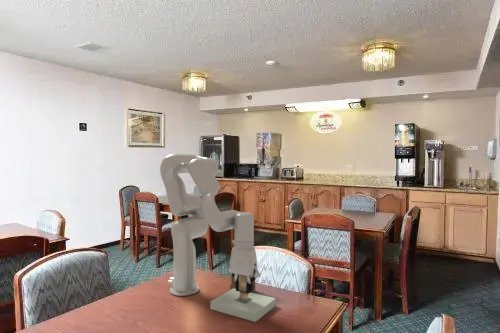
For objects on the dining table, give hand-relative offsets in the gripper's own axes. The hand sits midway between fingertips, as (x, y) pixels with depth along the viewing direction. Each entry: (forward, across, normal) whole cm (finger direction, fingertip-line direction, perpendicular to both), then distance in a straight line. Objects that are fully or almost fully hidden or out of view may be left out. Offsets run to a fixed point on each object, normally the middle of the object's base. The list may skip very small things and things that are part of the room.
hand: (244, 290), depth 135 cm
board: (+7, 0, 0) cm, 7 cm away
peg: (+3, 0, 0) cm, 3 cm away
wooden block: (+7, -9, +14) cm, 18 cm away
